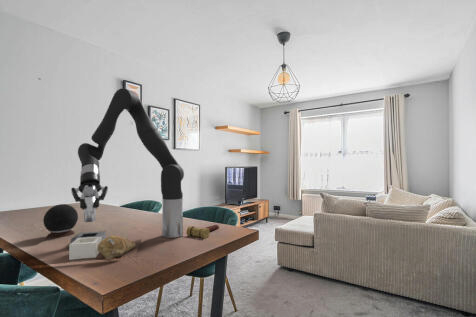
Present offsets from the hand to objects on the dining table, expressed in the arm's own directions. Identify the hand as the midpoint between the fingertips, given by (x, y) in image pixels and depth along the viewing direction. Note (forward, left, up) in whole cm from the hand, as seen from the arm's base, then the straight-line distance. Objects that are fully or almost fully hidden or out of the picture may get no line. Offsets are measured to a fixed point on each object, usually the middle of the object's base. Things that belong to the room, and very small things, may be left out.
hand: (89, 207), depth 101 cm
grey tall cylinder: (+1, -2, -6) cm, 6 cm away
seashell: (-14, +14, -16) cm, 25 cm away
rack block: (-2, +12, -16) cm, 20 cm away
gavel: (-49, -10, -17) cm, 53 cm away
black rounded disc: (+18, -21, -16) cm, 32 cm away
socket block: (+1, -2, -16) cm, 16 cm away
